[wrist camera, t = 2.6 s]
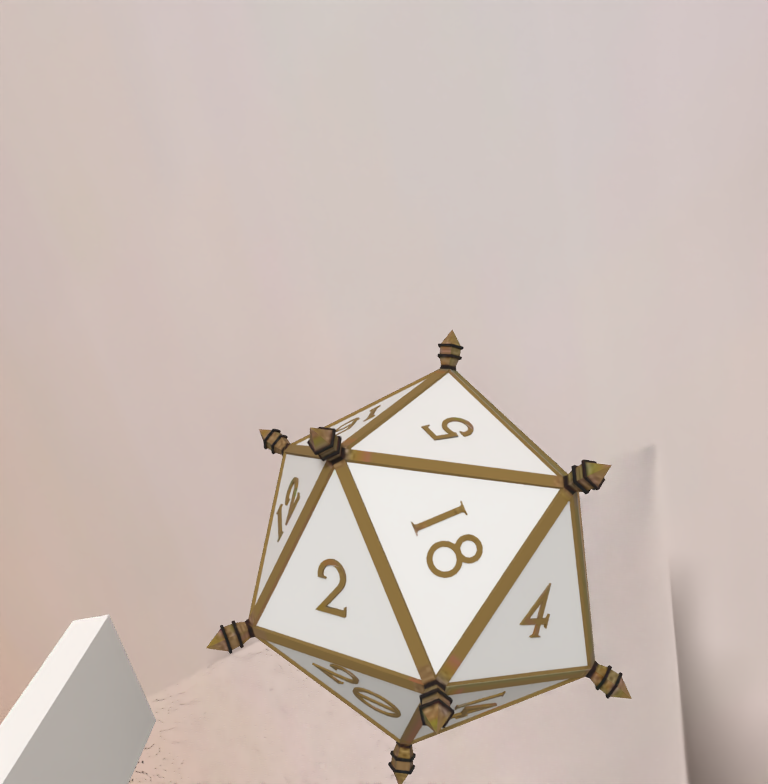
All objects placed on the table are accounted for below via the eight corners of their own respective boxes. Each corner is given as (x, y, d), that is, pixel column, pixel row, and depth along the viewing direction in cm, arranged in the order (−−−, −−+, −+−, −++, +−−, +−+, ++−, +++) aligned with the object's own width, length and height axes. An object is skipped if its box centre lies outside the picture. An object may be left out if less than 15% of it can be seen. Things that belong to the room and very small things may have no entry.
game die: (619, 511, 21) (799, 830, 11) (368, 620, 22) (343, 979, 13) (486, 243, 18) (577, 366, 9) (213, 390, 20) (37, 628, 10)
